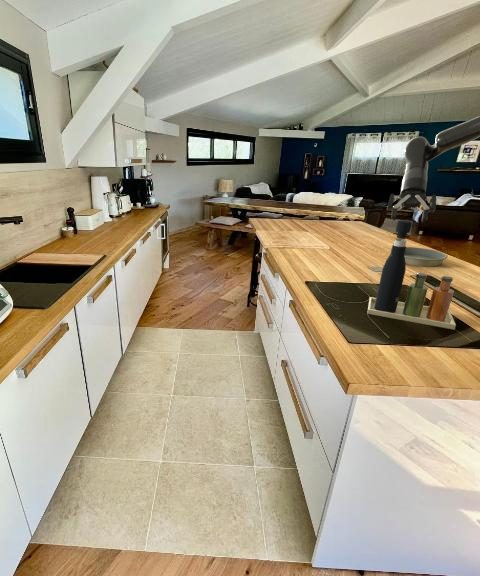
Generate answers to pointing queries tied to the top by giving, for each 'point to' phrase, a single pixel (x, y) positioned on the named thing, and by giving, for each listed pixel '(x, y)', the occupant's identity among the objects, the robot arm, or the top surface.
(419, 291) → the olive bottle
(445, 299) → the amber oil bottle
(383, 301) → the dark grey bottle
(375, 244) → the top surface
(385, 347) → the top surface
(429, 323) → the tray
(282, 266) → the top surface
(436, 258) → the cake pan
